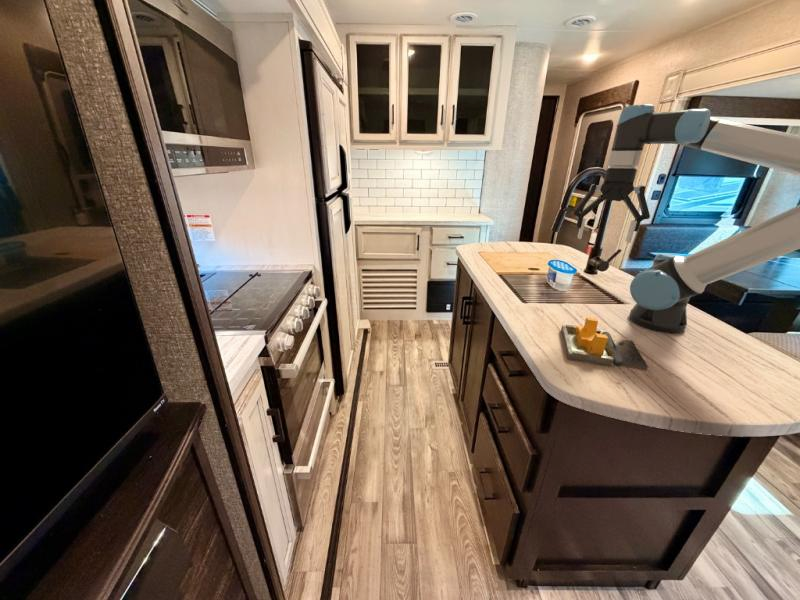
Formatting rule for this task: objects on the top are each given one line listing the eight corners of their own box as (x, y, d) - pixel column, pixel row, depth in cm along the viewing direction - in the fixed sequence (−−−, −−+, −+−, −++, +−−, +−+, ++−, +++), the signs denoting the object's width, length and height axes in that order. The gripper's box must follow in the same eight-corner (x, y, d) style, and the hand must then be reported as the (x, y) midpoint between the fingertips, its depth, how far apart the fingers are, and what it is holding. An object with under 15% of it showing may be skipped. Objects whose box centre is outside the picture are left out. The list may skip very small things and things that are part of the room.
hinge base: (630, 341, 97) (632, 334, 96) (649, 373, 82) (652, 365, 81) (561, 330, 102) (562, 324, 101) (567, 359, 88) (569, 352, 87)
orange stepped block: (575, 335, 99) (580, 316, 96) (590, 337, 98) (596, 318, 95) (584, 356, 88) (589, 335, 85) (601, 358, 87) (608, 338, 84)
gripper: (668, 167, 92) (645, 240, 101) (572, 166, 100) (558, 234, 109) (679, 168, 86) (653, 246, 95) (576, 167, 93) (561, 239, 102)
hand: (603, 240), depth 102 cm, fingers open, 13 cm apart
